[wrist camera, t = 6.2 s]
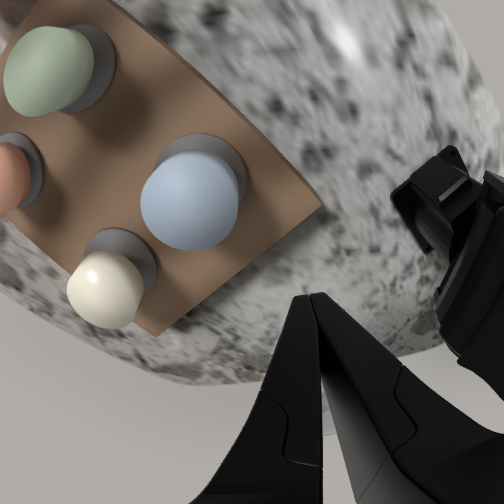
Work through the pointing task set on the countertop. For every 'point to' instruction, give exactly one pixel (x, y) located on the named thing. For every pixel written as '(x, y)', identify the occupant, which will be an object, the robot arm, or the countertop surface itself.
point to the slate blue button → (191, 200)
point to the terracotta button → (13, 178)
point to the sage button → (47, 70)
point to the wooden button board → (142, 161)
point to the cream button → (106, 289)
